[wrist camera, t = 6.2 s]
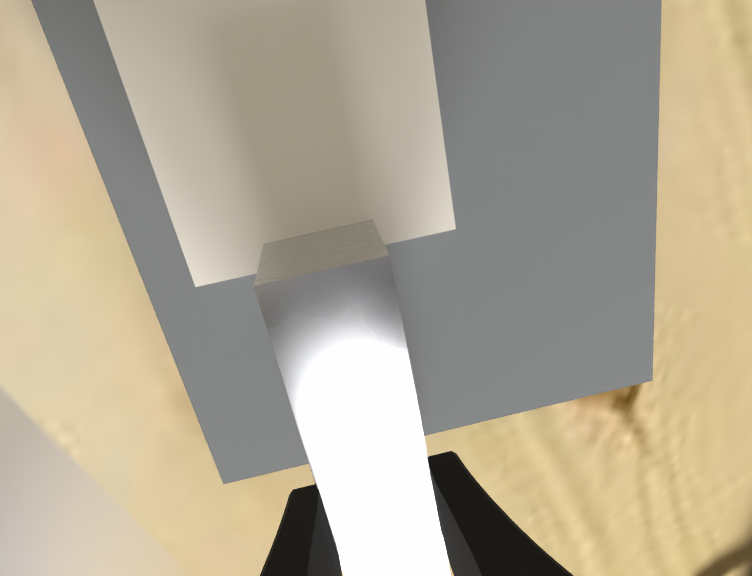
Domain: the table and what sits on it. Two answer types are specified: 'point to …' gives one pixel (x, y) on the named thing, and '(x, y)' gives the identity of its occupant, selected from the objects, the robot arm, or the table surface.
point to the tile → (283, 120)
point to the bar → (354, 396)
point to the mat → (446, 249)
